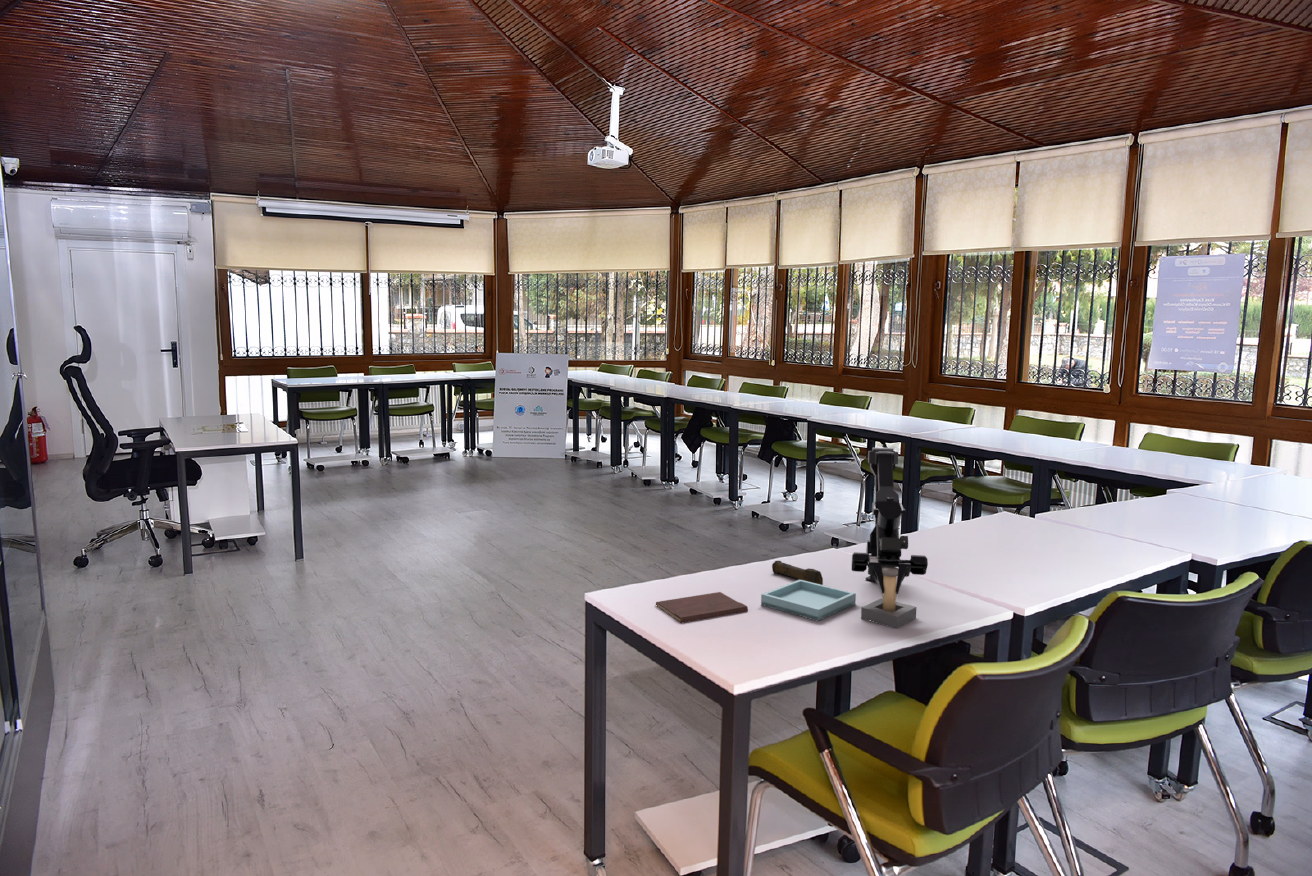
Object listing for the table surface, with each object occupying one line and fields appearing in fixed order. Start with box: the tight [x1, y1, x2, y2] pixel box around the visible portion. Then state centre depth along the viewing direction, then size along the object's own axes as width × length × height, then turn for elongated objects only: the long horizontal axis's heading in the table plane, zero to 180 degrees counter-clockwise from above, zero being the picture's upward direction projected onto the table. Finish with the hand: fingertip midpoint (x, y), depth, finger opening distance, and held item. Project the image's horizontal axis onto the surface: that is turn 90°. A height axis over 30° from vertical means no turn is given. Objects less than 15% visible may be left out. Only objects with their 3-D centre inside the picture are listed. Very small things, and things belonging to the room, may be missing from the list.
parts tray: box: [760, 579, 857, 621], centre depth 223 cm, size 18×18×3 cm
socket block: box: [860, 597, 918, 629], centre depth 212 cm, size 10×10×3 cm
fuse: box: [882, 566, 899, 612], centre depth 211 cm, size 4×4×13 cm
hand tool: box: [771, 560, 824, 585], centre depth 245 cm, size 19×4×5 cm, turn 34°
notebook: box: [655, 591, 749, 624], centre depth 221 cm, size 15×20×2 cm
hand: (890, 593), depth 210 cm, fingers closed on fuse, 3 cm apart
